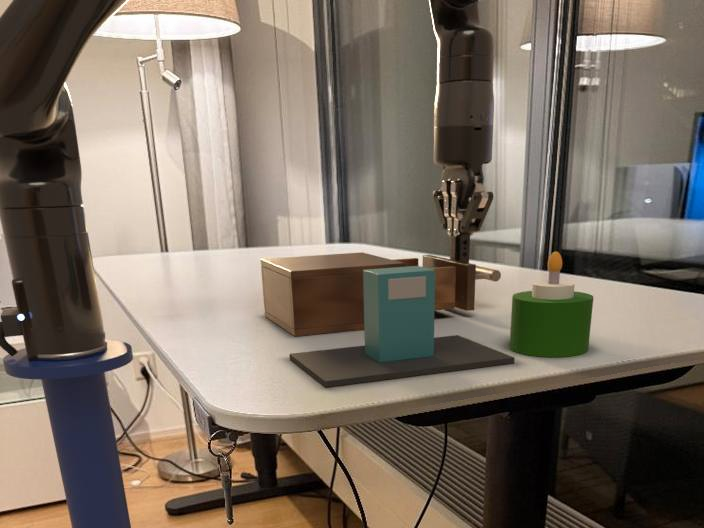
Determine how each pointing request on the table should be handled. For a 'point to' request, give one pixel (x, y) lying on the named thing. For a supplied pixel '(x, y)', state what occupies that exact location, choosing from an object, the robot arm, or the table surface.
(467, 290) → the drawer
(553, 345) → the candle
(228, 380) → the table surface
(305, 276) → the cabinet
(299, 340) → the table surface
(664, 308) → the table surface
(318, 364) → the mat
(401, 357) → the teal labeled box
